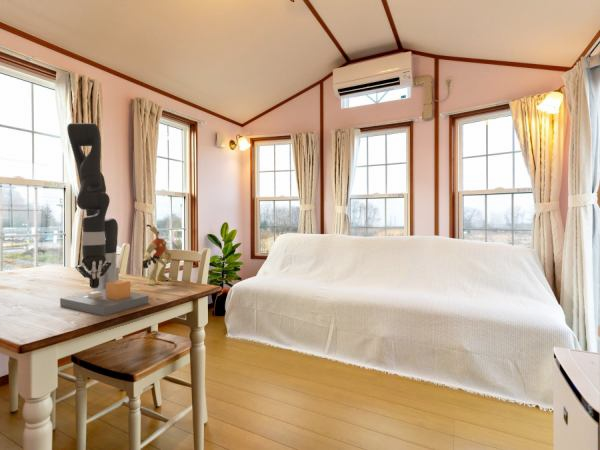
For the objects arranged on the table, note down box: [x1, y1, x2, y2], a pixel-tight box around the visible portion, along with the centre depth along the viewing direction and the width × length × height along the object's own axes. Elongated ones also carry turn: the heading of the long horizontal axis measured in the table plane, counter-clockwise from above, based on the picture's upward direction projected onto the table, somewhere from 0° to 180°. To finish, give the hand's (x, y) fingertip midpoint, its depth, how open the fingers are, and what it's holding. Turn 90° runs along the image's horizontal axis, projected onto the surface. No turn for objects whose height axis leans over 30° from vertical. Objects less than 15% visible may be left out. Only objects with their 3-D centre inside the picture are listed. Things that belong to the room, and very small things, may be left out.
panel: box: [59, 289, 149, 317], centre depth 125 cm, size 18×26×4 cm
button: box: [88, 291, 102, 299], centre depth 124 cm, size 3×3×3 cm
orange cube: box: [106, 279, 132, 300], centre depth 125 cm, size 6×6×6 cm
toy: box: [142, 224, 173, 286], centre depth 163 cm, size 23×9×30 cm, turn 171°
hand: (94, 287), depth 124 cm, fingers closed
